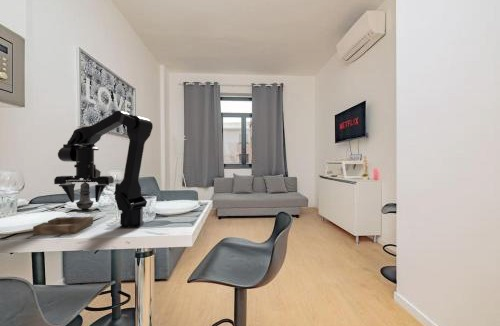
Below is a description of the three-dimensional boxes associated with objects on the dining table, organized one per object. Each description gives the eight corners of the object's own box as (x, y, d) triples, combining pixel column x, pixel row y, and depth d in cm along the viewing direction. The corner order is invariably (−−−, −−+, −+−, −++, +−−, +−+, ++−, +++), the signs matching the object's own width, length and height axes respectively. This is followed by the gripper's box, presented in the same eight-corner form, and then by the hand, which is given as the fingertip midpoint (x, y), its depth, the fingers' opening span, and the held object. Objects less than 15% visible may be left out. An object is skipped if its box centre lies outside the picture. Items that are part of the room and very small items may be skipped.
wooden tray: (92, 223, 91) (92, 216, 91) (75, 233, 79) (75, 225, 79) (56, 224, 89) (57, 217, 89) (33, 234, 77) (33, 226, 77)
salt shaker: (85, 213, 91) (85, 181, 91) (71, 212, 92) (71, 180, 92) (97, 210, 97) (97, 180, 97) (84, 209, 98) (84, 179, 98)
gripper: (118, 162, 104) (118, 198, 104) (70, 161, 101) (70, 199, 101) (107, 162, 93) (107, 203, 93) (53, 161, 90) (53, 204, 90)
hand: (85, 202), depth 95 cm, fingers closed on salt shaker, 8 cm apart
